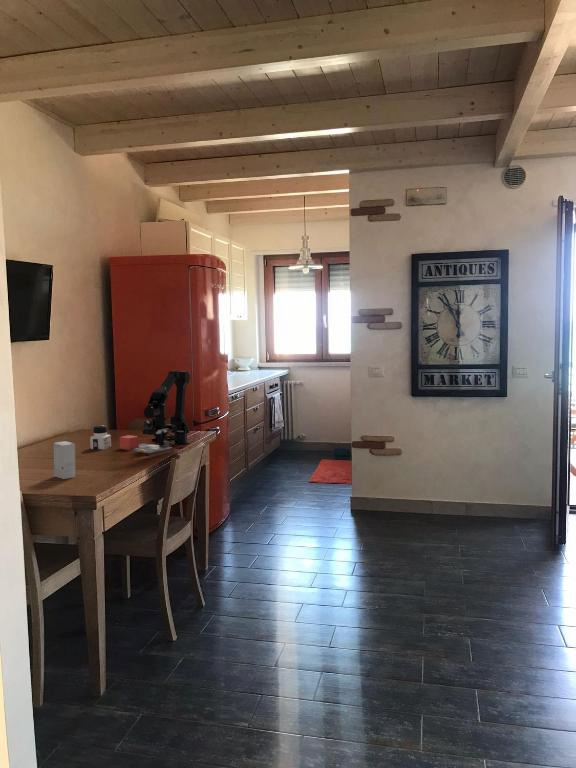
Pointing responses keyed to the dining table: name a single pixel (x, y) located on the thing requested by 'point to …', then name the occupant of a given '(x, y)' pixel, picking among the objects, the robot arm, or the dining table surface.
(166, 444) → the gray box
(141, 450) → the panel
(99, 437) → the container
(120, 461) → the dining table surface
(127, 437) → the cap
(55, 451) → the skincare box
